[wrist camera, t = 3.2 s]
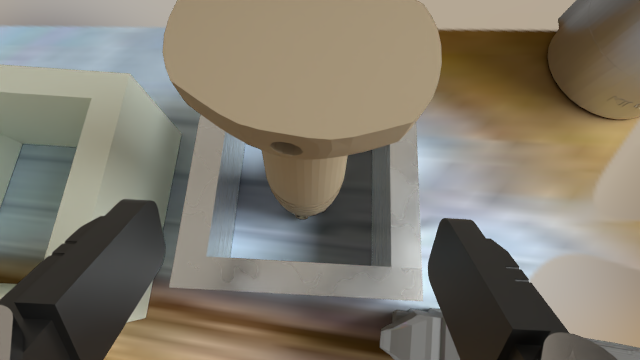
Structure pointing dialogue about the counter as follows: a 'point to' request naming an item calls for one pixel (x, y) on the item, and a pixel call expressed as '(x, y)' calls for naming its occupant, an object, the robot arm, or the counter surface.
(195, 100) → the handle
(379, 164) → the bore block
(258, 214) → the counter surface
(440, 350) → the tapered grey rod
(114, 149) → the cradle block
